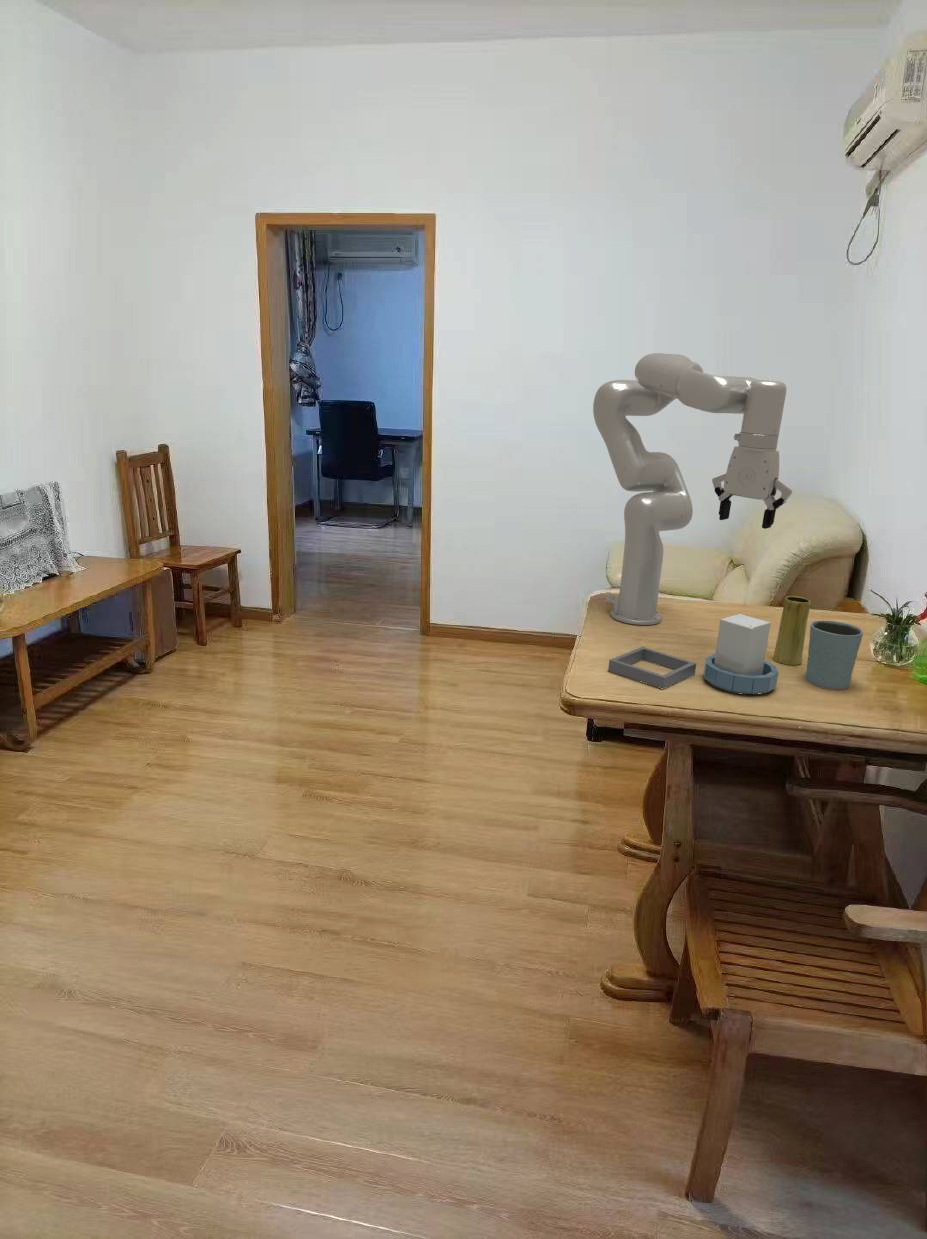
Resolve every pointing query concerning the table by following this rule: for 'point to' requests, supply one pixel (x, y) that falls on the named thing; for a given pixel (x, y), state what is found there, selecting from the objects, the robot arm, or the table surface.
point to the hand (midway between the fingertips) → (744, 523)
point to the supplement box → (742, 645)
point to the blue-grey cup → (832, 654)
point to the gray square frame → (624, 667)
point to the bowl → (740, 678)
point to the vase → (792, 631)
